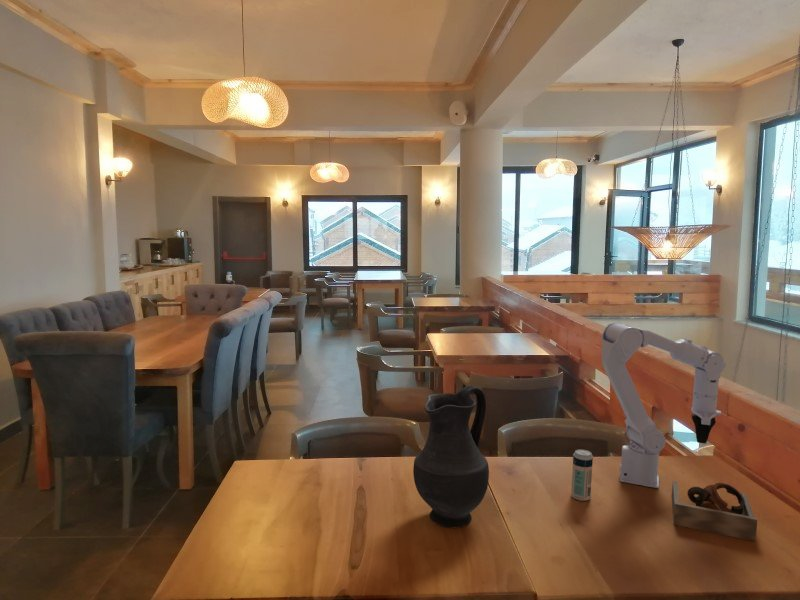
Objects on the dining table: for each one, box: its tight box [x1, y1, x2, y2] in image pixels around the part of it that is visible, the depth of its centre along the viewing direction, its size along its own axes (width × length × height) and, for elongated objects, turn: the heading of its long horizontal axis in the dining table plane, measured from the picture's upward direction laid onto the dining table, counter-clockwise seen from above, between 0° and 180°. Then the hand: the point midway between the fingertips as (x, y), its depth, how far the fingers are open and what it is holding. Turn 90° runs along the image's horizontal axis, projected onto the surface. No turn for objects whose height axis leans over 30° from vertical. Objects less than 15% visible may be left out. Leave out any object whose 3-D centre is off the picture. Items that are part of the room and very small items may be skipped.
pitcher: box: [413, 384, 490, 528], centre depth 127 cm, size 17×21×30 cm
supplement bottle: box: [570, 448, 594, 502], centre depth 137 cm, size 5×5×12 cm
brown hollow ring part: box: [687, 482, 745, 515], centre depth 131 cm, size 12×10×8 cm
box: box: [671, 480, 758, 542], centre depth 129 cm, size 16×16×5 cm
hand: (701, 442), depth 148 cm, fingers closed
